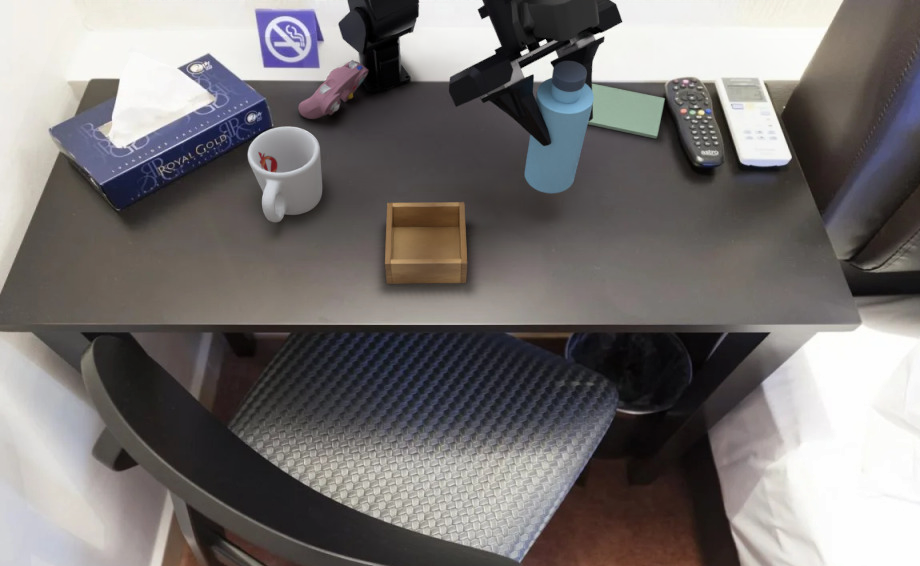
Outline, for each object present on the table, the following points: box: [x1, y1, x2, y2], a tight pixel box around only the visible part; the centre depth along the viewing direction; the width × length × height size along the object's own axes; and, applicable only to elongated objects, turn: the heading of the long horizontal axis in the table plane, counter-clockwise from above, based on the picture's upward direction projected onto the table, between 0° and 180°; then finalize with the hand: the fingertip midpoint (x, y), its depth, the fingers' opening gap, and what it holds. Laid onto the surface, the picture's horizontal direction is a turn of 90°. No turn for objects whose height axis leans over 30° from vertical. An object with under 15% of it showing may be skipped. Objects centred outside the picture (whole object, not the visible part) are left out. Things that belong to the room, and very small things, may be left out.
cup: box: [247, 125, 323, 223], centre depth 77 cm, size 11×8×8 cm
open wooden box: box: [384, 201, 468, 285], centre depth 74 cm, size 9×9×4 cm
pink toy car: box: [298, 59, 369, 120], centre depth 88 cm, size 10×5×7 cm, turn 148°
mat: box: [588, 83, 666, 140], centre depth 90 cm, size 12×8×1 cm, turn 73°
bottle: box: [524, 61, 594, 194], centre depth 69 cm, size 6×6×14 cm
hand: (568, 132), depth 68 cm, fingers closed on bottle, 5 cm apart
